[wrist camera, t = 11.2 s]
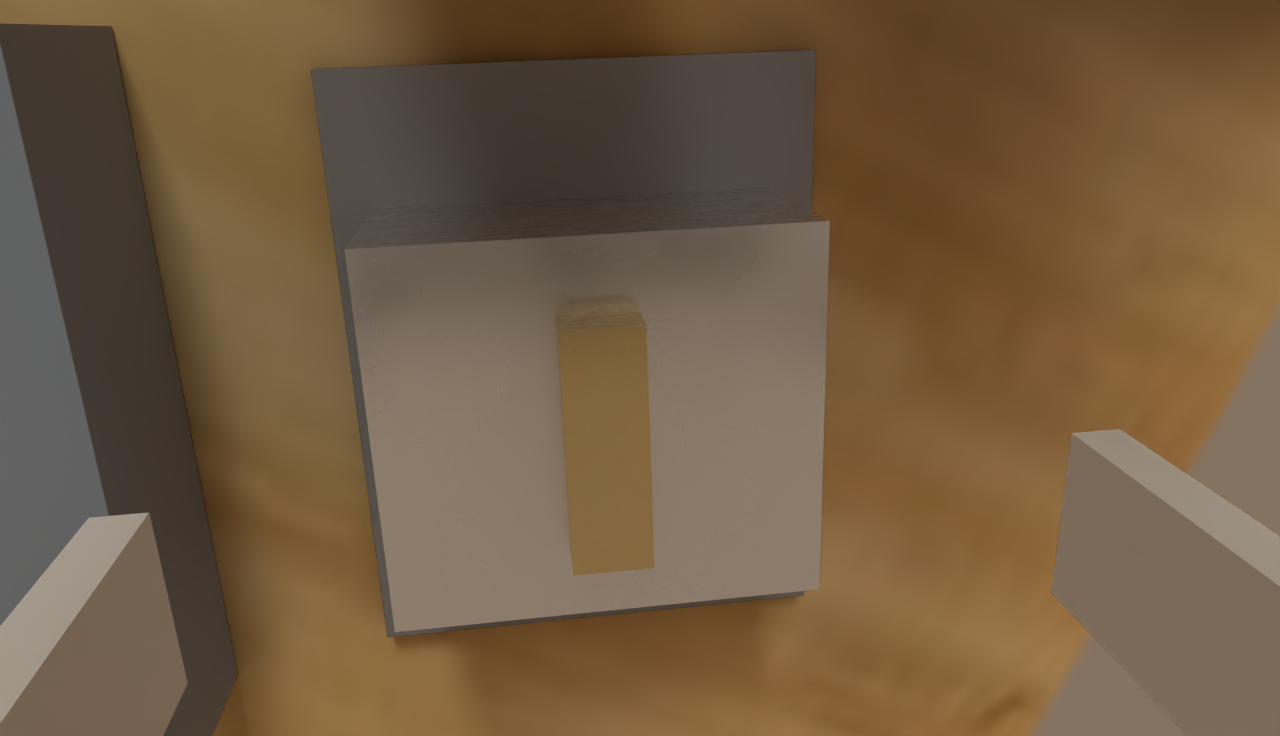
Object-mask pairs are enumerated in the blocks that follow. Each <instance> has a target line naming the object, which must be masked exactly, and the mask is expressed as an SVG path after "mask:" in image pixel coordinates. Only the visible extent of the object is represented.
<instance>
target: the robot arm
mask: <svg viewBox="0 0 1280 736" xmlns="http://www.w3.org/2000/svg"><path fill="white" fill-rule="evenodd" d="M1051 593H1052V594H1053V595H1054V596H1055V597H1056V598H1057V599H1058V600H1059V601H1060V603H1061V604H1062V605H1063V606H1064V607H1065V608H1066V609H1067V610H1068V611H1069V612H1070V613H1071V614H1072V615H1073V616H1074V617H1075V618H1076V619H1077V620H1078V622H1079V623H1080V624H1081V625H1082V626H1083V627H1084V628H1085V629H1086V630H1087V631H1088V632H1089V633H1090V634H1091V635H1092V636H1093V637H1094V638H1095V639H1096V640H1097V642H1098V643H1099V644H1100V645H1101V646H1102V647H1103V648H1104V649H1105V650H1106V651H1107V652H1108V653H1109V654H1110V655H1111V656H1112V657H1113V658H1114V659H1115V660H1116V661H1117V663H1118V664H1119V665H1120V666H1121V667H1122V668H1123V669H1124V670H1125V671H1126V672H1127V673H1128V674H1129V675H1130V676H1131V677H1132V678H1133V679H1134V681H1135V682H1136V683H1137V684H1139V686H1140V687H1141V688H1142V689H1143V690H1144V691H1145V692H1146V693H1147V694H1148V695H1149V696H1150V697H1151V698H1152V699H1153V700H1154V702H1155V703H1156V704H1157V705H1158V706H1159V707H1160V708H1161V709H1162V710H1163V711H1164V712H1165V713H1166V714H1167V715H1168V716H1169V717H1170V718H1171V719H1172V721H1173V722H1174V723H1175V724H1176V725H1177V726H1178V727H1179V728H1180V729H1181V730H1182V731H1183V732H1184V733H1185V734H1186V735H1187V736H1280V536H1278V535H1277V534H1275V533H1274V532H1272V531H1271V530H1269V529H1268V528H1266V527H1265V526H1263V525H1262V524H1260V523H1259V522H1257V521H1256V520H1254V519H1253V518H1252V517H1250V516H1248V515H1247V514H1245V513H1244V512H1243V511H1241V510H1240V509H1238V508H1236V507H1235V506H1234V505H1232V504H1231V503H1229V502H1228V501H1226V500H1225V499H1223V498H1222V497H1220V496H1218V495H1217V494H1216V493H1214V492H1213V491H1211V490H1210V489H1208V488H1207V487H1205V486H1204V485H1202V484H1201V483H1199V482H1198V481H1196V480H1195V479H1193V478H1192V477H1191V476H1189V475H1188V474H1186V473H1185V472H1183V471H1182V470H1180V469H1179V468H1177V467H1176V466H1174V465H1173V464H1171V463H1170V462H1168V461H1167V460H1165V459H1164V458H1162V457H1161V456H1159V455H1158V454H1156V453H1155V452H1153V451H1152V450H1150V449H1149V448H1147V447H1146V446H1144V445H1143V444H1141V443H1140V442H1138V441H1137V440H1135V439H1134V438H1133V437H1131V436H1130V435H1128V434H1127V433H1125V432H1124V431H1122V430H1121V429H1115V430H1103V431H1091V432H1080V433H1072V435H1071V443H1070V451H1069V459H1068V466H1067V474H1066V482H1065V490H1064V498H1063V505H1062V513H1061V521H1060V529H1059V536H1058V544H1057V552H1056V560H1055V568H1054V575H1053V583H1052V591H1051ZM187 684H188V683H187V678H186V674H185V669H184V665H183V660H182V656H181V652H180V647H179V643H178V638H177V634H176V629H175V625H174V620H173V616H172V612H171V607H170V603H169V598H168V594H167V589H166V585H165V581H164V576H163V572H162V567H161V563H160V558H159V554H158V549H157V545H156V541H155V536H154V532H153V527H152V523H151V518H150V514H149V513H137V514H126V515H114V516H102V517H91V518H88V519H87V521H86V522H85V523H84V524H83V526H82V527H81V528H80V529H79V530H78V532H77V533H76V534H75V535H74V537H73V538H72V539H71V540H70V541H69V543H68V544H67V545H66V546H65V548H64V549H63V550H62V551H61V552H60V554H59V555H58V556H57V557H56V559H55V560H54V561H53V562H52V563H51V565H50V566H49V567H48V568H47V570H46V571H45V572H44V573H43V574H42V576H41V577H40V578H39V579H38V581H37V582H36V583H35V584H34V585H33V587H32V588H31V589H30V590H29V592H28V593H27V594H26V595H25V596H24V598H23V599H22V600H21V601H20V603H19V604H18V605H17V606H16V607H15V609H14V610H13V611H12V612H11V614H10V615H9V616H8V617H7V618H6V620H5V621H4V622H3V623H2V625H1V626H0V736H163V735H164V733H165V731H166V729H167V726H168V724H169V722H170V720H171V718H172V716H173V714H174V711H175V709H176V707H177V705H178V703H179V701H180V699H181V697H182V694H183V692H184V690H185V688H186V686H187Z"/></svg>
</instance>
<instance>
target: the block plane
mask: <svg viewBox="0 0 1280 736" xmlns="http://www.w3.org/2000/svg"><path fill="white" fill-rule="evenodd" d="M137 513H149V514H150V518H151V523H152V527H153V532H154V536H155V541H156V545H157V549H158V554H159V558H160V563H161V567H162V572H163V576H164V581H165V585H166V589H167V594H168V598H169V603H170V607H171V612H172V616H173V620H174V625H175V629H176V634H177V638H178V643H179V647H180V652H181V656H182V660H183V665H184V669H185V674H186V678H187V683H188V684H187V686H186V688H185V690H184V692H183V694H182V697H181V699H180V701H179V703H178V705H177V707H176V709H175V711H174V714H173V716H172V718H171V720H170V722H169V724H168V726H167V729H166V731H165V733H164V735H163V736H212V735H213V733H214V731H215V728H216V726H217V723H218V721H219V719H220V716H221V714H222V711H223V709H224V707H225V704H226V702H227V700H228V697H229V695H230V692H231V690H232V688H233V685H234V683H235V680H236V678H237V676H238V674H237V669H236V664H235V659H234V654H233V649H232V644H231V638H230V633H229V628H228V623H227V618H226V613H225V608H224V602H223V597H222V592H221V587H220V582H219V577H218V572H217V566H216V561H215V556H214V551H213V546H212V541H211V536H210V530H209V525H208V520H207V515H206V510H205V505H204V500H203V494H202V489H201V484H200V479H199V474H198V469H197V464H196V458H195V453H194V448H193V443H192V438H191V433H190V428H189V422H188V417H187V412H186V407H185V402H184V397H183V392H182V386H181V381H180V376H179V371H178V366H177V361H176V356H175V350H174V345H173V340H172V335H171V330H170V325H169V319H168V314H167V309H166V304H165V299H164V294H163V289H162V283H161V278H160V273H159V268H158V263H157V258H156V253H155V247H154V242H153V237H152V232H151V227H150V222H149V217H148V211H147V206H146V201H145V196H144V191H143V186H142V181H141V175H140V170H139V165H138V160H137V155H136V150H135V145H134V139H133V134H132V129H131V124H130V119H129V114H128V109H127V103H126V98H125V93H124V88H123V83H122V78H121V73H120V67H119V62H118V57H117V52H116V47H115V42H114V37H113V31H112V27H110V26H71V25H33V24H0V626H1V625H2V623H3V622H4V621H5V620H6V618H7V617H8V616H9V615H10V614H11V612H12V611H13V610H14V609H15V607H16V606H17V605H18V604H19V603H20V601H21V600H22V599H23V598H24V596H25V595H26V594H27V593H28V592H29V590H30V589H31V588H32V587H33V585H34V584H35V583H36V582H37V581H38V579H39V578H40V577H41V576H42V574H43V573H44V572H45V571H46V570H47V568H48V567H49V566H50V565H51V563H52V562H53V561H54V560H55V559H56V557H57V556H58V555H59V554H60V552H61V551H62V550H63V549H64V548H65V546H66V545H67V544H68V543H69V541H70V540H71V539H72V538H73V537H74V535H75V534H76V533H77V532H78V530H79V529H80V528H81V527H82V526H83V524H84V523H85V522H86V521H87V519H88V518H91V517H102V516H114V515H126V514H137Z"/></svg>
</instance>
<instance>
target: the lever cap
mask: <svg viewBox="0 0 1280 736" xmlns="http://www.w3.org/2000/svg"><path fill="white" fill-rule="evenodd" d="M829 234H830V221H829V220H827V219H826V218H824V217H822V216H820V215H819V214H817V213H815V212H813V211H811V210H810V209H808V208H806V207H804V206H803V205H801V204H799V203H797V202H796V201H794V200H792V199H790V198H789V197H787V196H785V195H783V194H781V193H780V192H778V191H776V190H774V189H773V188H771V187H763V188H744V189H726V190H707V191H689V192H670V193H652V194H633V195H615V196H597V197H578V198H560V199H541V200H523V201H504V202H486V203H467V204H449V205H430V206H412V207H393V208H375V210H374V211H373V212H372V214H371V215H370V216H369V217H368V219H367V220H366V221H365V223H364V224H363V225H362V227H361V228H360V229H359V231H358V232H357V233H356V235H355V236H354V237H353V239H352V240H351V241H350V243H349V244H348V245H347V247H346V248H345V249H344V250H345V257H346V265H347V273H348V280H349V288H350V295H351V303H352V310H353V318H354V326H355V333H356V341H357V348H358V356H359V363H360V371H361V379H362V386H363V394H364V401H365V409H366V417H367V424H368V432H369V439H370V447H371V454H372V462H373V470H374V477H375V485H376V492H377V500H378V507H379V515H380V523H381V530H382V538H383V545H384V553H385V561H386V568H387V576H388V583H389V591H390V598H391V606H392V614H393V621H394V629H395V632H401V631H411V630H421V629H431V628H441V627H451V626H461V625H471V624H481V623H491V622H501V621H510V620H520V619H530V618H540V617H550V616H560V615H570V614H580V613H590V612H600V611H610V610H620V609H629V608H639V607H649V606H659V605H669V604H679V603H689V602H699V601H709V600H719V599H729V598H739V597H749V596H758V595H768V594H778V593H788V592H798V591H808V590H818V589H820V557H821V521H822V485H823V449H824V413H825V378H826V342H827V306H828V270H829Z"/></svg>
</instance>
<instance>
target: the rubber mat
mask: <svg viewBox="0 0 1280 736" xmlns="http://www.w3.org/2000/svg"><path fill="white" fill-rule="evenodd" d="M815 51H816V50H793V51H767V52H741V53H715V54H690V55H664V56H638V57H612V58H586V59H560V60H534V61H508V62H482V63H456V64H430V65H404V66H378V67H352V68H326V69H312V70H311V75H312V82H313V89H314V97H315V104H316V112H317V119H318V127H319V134H320V141H321V149H322V156H323V164H324V171H325V178H326V186H327V193H328V201H329V208H330V215H331V223H332V230H333V238H334V245H335V252H336V260H337V267H338V275H339V282H340V290H341V297H342V304H343V312H344V319H345V327H346V334H347V341H348V349H349V356H350V364H351V371H352V378H353V386H354V393H355V401H356V408H357V416H358V423H359V430H360V438H361V445H362V453H363V460H364V467H365V475H366V482H367V490H368V497H369V504H370V512H371V519H372V527H373V534H374V541H375V549H376V556H377V564H378V571H379V579H380V586H381V593H382V601H383V608H384V616H385V623H386V630H387V637H397V636H407V635H417V634H427V633H437V632H446V631H456V630H466V629H476V628H486V627H496V626H506V625H516V624H525V623H535V622H545V621H555V620H565V619H575V618H585V617H595V616H604V615H614V614H624V613H634V612H644V611H654V610H664V609H674V608H683V607H693V606H703V605H713V604H723V603H733V602H743V601H753V600H763V599H772V598H782V597H792V596H802V595H804V591H798V592H788V593H778V594H768V595H758V596H749V597H739V598H729V599H719V600H709V601H699V602H689V603H679V604H669V605H659V606H649V607H639V608H629V609H620V610H610V611H600V612H590V613H580V614H570V615H560V616H550V617H540V618H530V619H520V620H510V621H501V622H491V623H481V624H471V625H461V626H451V627H441V628H431V629H421V630H411V631H401V632H395V629H394V621H393V614H392V606H391V598H390V591H389V583H388V576H387V568H386V561H385V553H384V545H383V538H382V530H381V523H380V515H379V507H378V500H377V492H376V485H375V477H374V470H373V462H372V454H371V447H370V439H369V432H368V424H367V417H366V409H365V401H364V394H363V386H362V379H361V371H360V363H359V356H358V348H357V341H356V333H355V326H354V318H353V310H352V303H351V295H350V288H349V280H348V273H347V265H346V257H345V250H344V249H345V248H346V247H347V245H348V244H349V243H350V241H351V240H352V239H353V237H354V236H355V235H356V233H357V232H358V231H359V229H360V228H361V227H362V225H363V224H364V223H365V221H366V220H367V219H368V217H369V216H370V215H371V214H372V212H373V211H374V210H375V208H393V207H412V206H430V205H449V204H467V203H486V202H504V201H523V200H541V199H560V198H578V197H597V196H615V195H633V194H652V193H670V192H689V191H707V190H726V189H744V188H763V187H771V188H773V189H774V190H776V191H778V192H780V193H781V194H783V195H785V196H787V197H789V198H790V199H792V200H794V201H796V202H797V203H799V204H801V205H803V206H804V207H806V208H808V209H810V210H811V211H812V187H813V141H814V96H815Z"/></svg>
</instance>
